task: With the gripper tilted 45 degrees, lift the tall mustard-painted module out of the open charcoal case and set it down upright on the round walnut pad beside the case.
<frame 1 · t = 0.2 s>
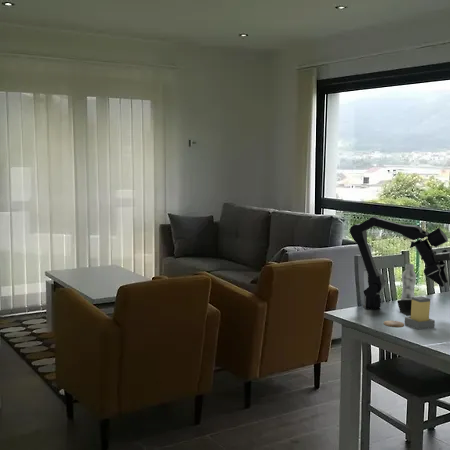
hand: (444, 284, 258), 15 cm above the table, tool tilted 35°, fingers open, 9 cm apart
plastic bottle: (407, 307, 276), on the table
black wedge stand: (412, 314, 266), on the table
module: (419, 325, 245), point 1 cm above the table, touching case
case: (419, 327, 245), on the table
pad: (393, 325, 246), on the table
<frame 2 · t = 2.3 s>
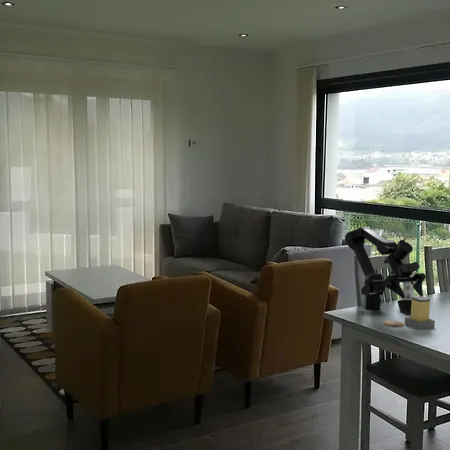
hand: (413, 297, 248), 11 cm above the table, tool tilted 45°, fingers open, 9 cm apart
nothing on the table moved.
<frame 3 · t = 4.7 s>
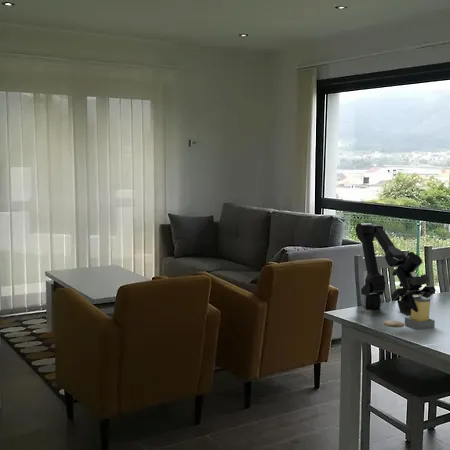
hand: (422, 311, 243), 7 cm above the table, tool tilted 45°, fingers closed on module, 5 cm apart
module: (419, 325, 245), point 1 cm above the table, touching case, gripper
everything else where it was.
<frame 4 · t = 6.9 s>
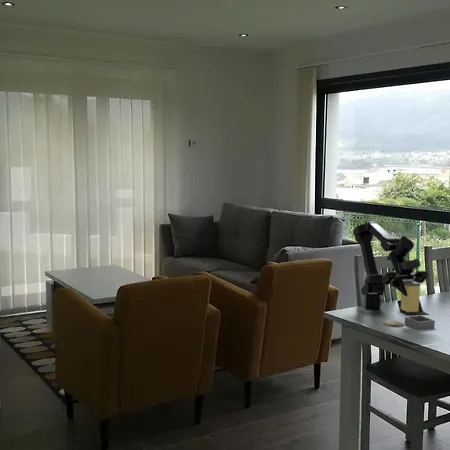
hand: (412, 295, 242), 13 cm above the table, tool tilted 45°, fingers closed on module, 5 cm apart
module: (409, 310, 245), point 7 cm above the table, touching gripper
everything else where it was.
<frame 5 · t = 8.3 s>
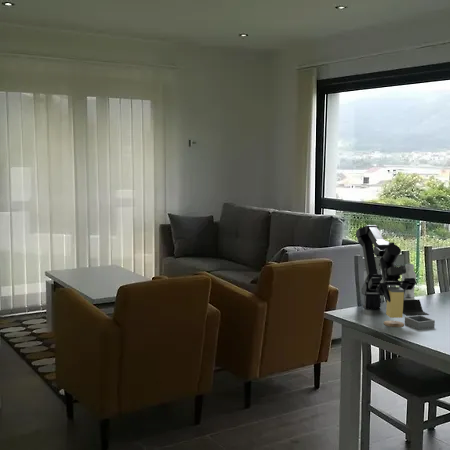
hand: (396, 301, 244), 10 cm above the table, tool tilted 45°, fingers closed on module, 5 cm apart
module: (394, 315, 246), point 4 cm above the table, touching gripper
everything else where it was.
when the fingers open (8 cm above the table, at t = 9.6 s): module stays where it is, resting on pad.
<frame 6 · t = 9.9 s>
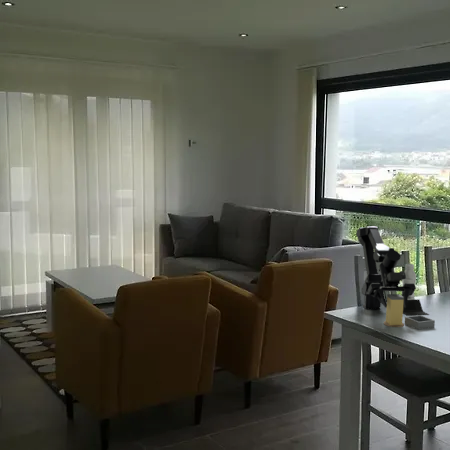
hand: (396, 307, 244), 8 cm above the table, tool tilted 45°, fingers open, 8 cm apart
module: (393, 323, 246), point 1 cm above the table, touching pad
everything else where it was.
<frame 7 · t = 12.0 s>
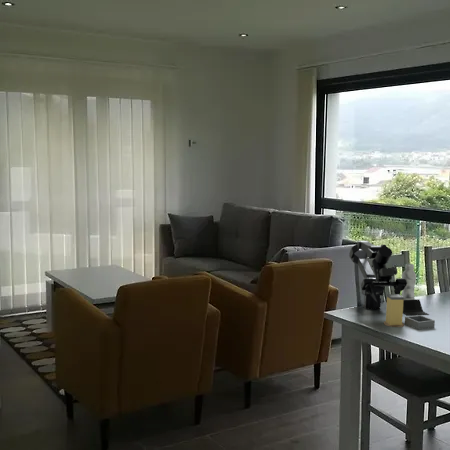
hand: (387, 301, 253), 8 cm above the table, tool tilted 45°, fingers open, 9 cm apart
nothing on the table moved.
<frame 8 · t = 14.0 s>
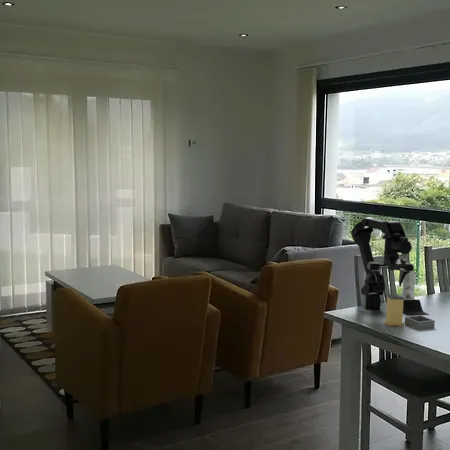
hand: (389, 285, 261), 13 cm above the table, tool pointing down, fingers open, 9 cm apart
nothing on the table moved.
at the end: module 0.0 cm off-centre on the pad, point 1.0 cm above the pad's base; module tilted 0°; the gripper is holding nothing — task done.
